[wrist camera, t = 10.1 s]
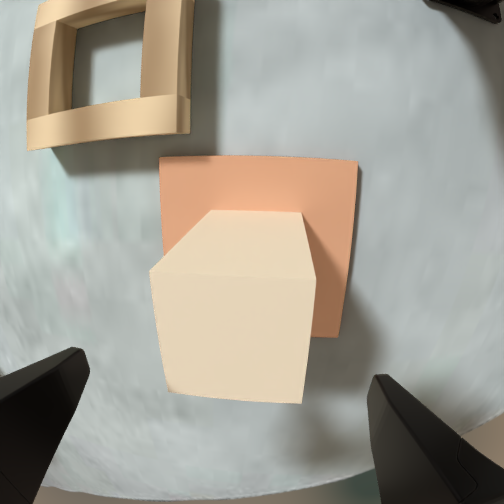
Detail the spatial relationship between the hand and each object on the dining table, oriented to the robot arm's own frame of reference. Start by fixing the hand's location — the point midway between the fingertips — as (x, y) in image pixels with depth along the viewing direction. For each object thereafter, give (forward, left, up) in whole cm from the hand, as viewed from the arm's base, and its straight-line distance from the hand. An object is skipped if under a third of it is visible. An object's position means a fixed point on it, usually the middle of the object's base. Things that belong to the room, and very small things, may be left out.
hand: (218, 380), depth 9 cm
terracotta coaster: (0, 0, -11) cm, 11 cm away
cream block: (0, 0, -11) cm, 11 cm away
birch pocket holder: (+9, -12, -11) cm, 19 cm away
